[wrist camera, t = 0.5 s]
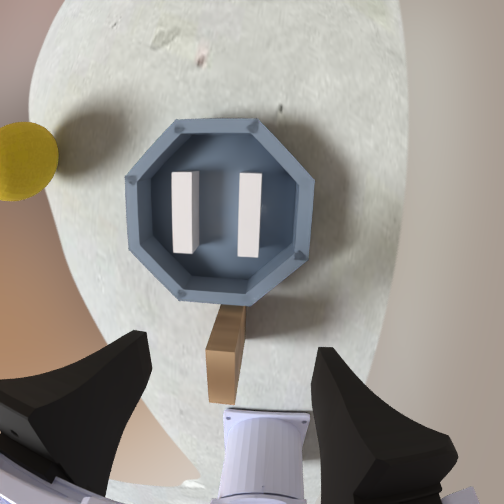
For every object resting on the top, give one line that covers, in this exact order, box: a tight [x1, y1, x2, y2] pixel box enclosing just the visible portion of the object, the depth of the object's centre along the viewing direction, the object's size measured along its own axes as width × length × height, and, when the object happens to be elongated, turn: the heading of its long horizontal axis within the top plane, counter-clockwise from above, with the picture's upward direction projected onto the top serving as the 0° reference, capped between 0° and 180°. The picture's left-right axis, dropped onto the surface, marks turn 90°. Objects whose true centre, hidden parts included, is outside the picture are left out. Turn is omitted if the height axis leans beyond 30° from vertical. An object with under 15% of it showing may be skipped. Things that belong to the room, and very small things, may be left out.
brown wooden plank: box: [206, 304, 246, 405], centre depth 18 cm, size 4×2×7 cm, turn 178°
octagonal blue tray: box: [124, 118, 315, 307], centre depth 18 cm, size 11×11×3 cm
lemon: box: [0, 122, 59, 201], centre depth 15 cm, size 6×6×8 cm
